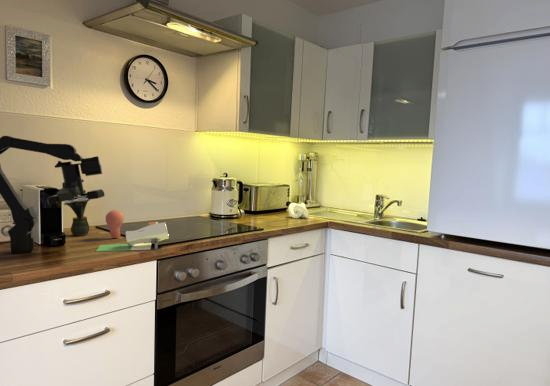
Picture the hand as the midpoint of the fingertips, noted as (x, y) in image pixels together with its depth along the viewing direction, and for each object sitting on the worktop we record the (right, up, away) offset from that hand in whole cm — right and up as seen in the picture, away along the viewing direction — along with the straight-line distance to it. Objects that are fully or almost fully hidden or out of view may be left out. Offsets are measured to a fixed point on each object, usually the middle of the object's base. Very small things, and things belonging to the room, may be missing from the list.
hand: (80, 219), depth 143 cm
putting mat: (+16, -11, +4) cm, 20 cm away
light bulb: (+4, -10, +20) cm, 23 cm away
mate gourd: (-13, -9, +25) cm, 29 cm away
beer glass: (+16, -8, +4) cm, 18 cm away
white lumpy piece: (+87, -5, +91) cm, 126 cm away
